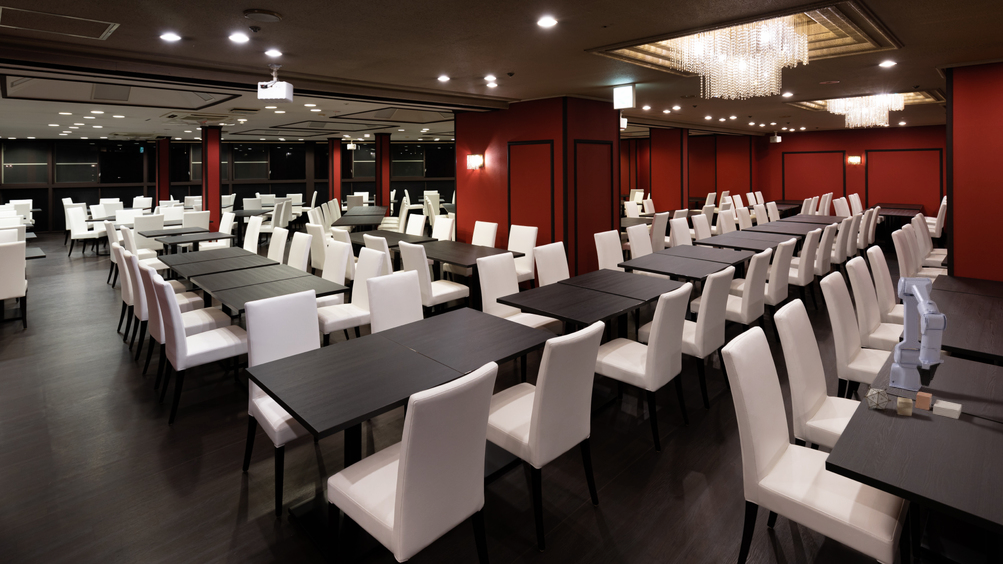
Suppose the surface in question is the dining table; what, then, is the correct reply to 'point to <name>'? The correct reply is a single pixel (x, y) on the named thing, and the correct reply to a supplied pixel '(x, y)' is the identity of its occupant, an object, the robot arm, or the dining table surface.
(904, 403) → the maple block
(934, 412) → the slab
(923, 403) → the terracotta block
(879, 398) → the game die
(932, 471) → the dining table surface
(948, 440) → the dining table surface
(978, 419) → the dining table surface
